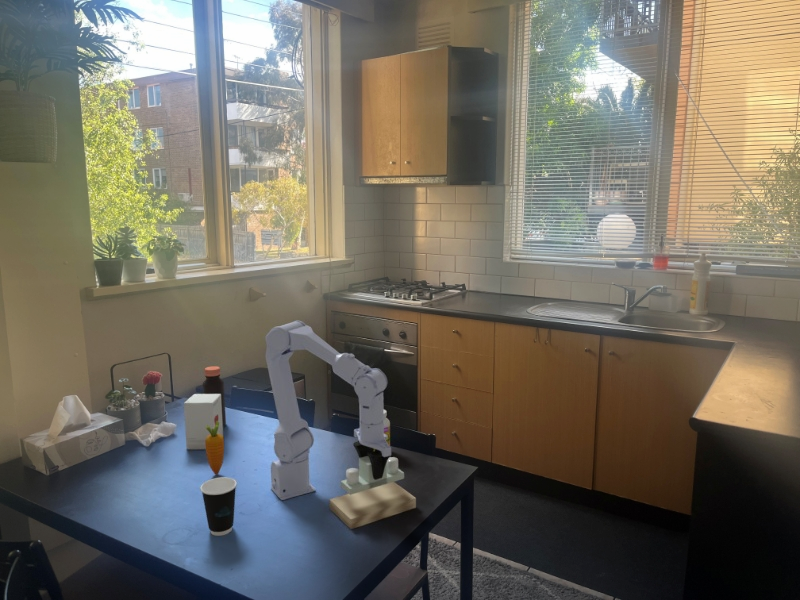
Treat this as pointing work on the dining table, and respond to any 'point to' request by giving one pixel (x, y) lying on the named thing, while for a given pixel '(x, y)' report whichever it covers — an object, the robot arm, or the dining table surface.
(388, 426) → the supplement bottle
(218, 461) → the carrot
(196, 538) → the dining table surface
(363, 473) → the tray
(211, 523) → the dixie cup
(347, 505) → the shelf board
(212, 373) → the vinegar
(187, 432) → the supplement box
